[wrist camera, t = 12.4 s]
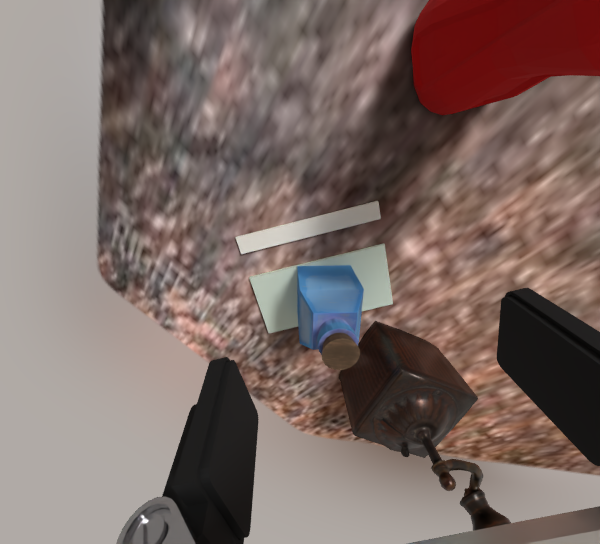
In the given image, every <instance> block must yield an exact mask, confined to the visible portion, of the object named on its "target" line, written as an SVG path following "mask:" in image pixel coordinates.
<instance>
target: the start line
mask: <svg viewBox="0 0 600 544" xmlns="http://www.w3.org/2000/svg"><path fill="white" fill-rule="evenodd" d="M378 219H381V216H380V209H379V202H378V201H374V202H370V203H366V204H362V205H358V206H354V207H350V208H347V209H343V210H339V211H335V212H331V213H327V214H323V215H319V216H315V217H312V218H308V219H304V220H300V221H296V222H292V223H288V224H284V225H281V226H277V227H273V228H269V229H265V230H261V231H257V232H253V233H249V234H246V235H242V236H238V237H236V241H237V243H238V246H239V249H240V252H241V254H245V253H248V252H252V251H256V250H260V249H264V248H268V247H272V246H276V245H280V244H284V243H288V242H292V241H296V240H300V239H304V238H308V237H311V236H315V235H319V234H323V233H327V232H331V231H335V230H339V229H343V228H347V227H351V226H355V225H359V224H363V223H367V222H371V221H374V220H378Z"/></svg>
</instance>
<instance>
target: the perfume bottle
mask: <svg viewBox="0 0 600 544" xmlns="http://www.w3.org/2000/svg"><path fill="white" fill-rule="evenodd" d="M363 293H364V288H363V286H362V285H361V283H360V281H359V279H358V278H357V276H356V274H355V272H354V270H353V269H352V267H351V265H335V266H297V314H298V327H299V340H300V344H302V345H304V346H306V347H308V348H311V349H319V352H320V353H321V355H322V360H323V362H324V364H325V365H327V366H328V367H329V368H332V369H335V370H343V369H347V368H349V367H351V366H353V365H354V364H355V363H356V362H357V360H358V359H359V356H360V349H359V347H358V342H359V333H360V323H361V313H362V303H363Z"/></svg>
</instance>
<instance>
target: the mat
mask: <svg viewBox="0 0 600 544" xmlns="http://www.w3.org/2000/svg"><path fill="white" fill-rule="evenodd" d="M335 265H351V267H352V269H353V270H354V272H355V274H356V276H357V278H358V279H359V281H360V283H361V285H362V286H363V288H364V293H363V303H362V311H365V310H370V309H374V308H378V307H382V306H386V305H391V304H393V301H392V294H391V287H390V280H389V272H388V265H387V258H386V251H385V244H384V243H383V244H379V245H375V246H371V247H367V248H363V249H359V250H355V251H351V252H347V253H343V254H339V255H335V256H331V257H327V258H323V259H319V260H315V261H311V262H307V263H303V264H299V265H295V266H291V267H287V268H283V269H279V270H275V271H271V272H267V273H263V274H259V275H255V276H251V277H250V281H251V284H252V287H253V290H254V293H255V295H256V298H257V301H258V304H259V307H260V310H261V312H262V315H263V318H264V321H265V324H266V327H267V330H268V332H269V333H273V332H277V331H281V330H286V329H290V328H294V327H298V314H297V266H335Z"/></svg>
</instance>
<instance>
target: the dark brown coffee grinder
mask: <svg viewBox="0 0 600 544" xmlns="http://www.w3.org/2000/svg"><path fill="white" fill-rule="evenodd" d="M358 347H359V349H360V356H359V359H358V360H357V362H356V363H355V364H354V365H353V366H351V367H349V368H347V369H343V370H341V372H340V376H339V379H340V381H341V385H342V389H343V394H344V398H345V402H346V407H347V411H348V415H349V419H350V423H351V427H352V432H353V434H354V435H355V436H358V437H361V438H363V439H366V440H369V441H372V442H375V443H378V444H382V445H384V446H386V447H387V448H389V449H390V450H394V451H399V452H401V453H402V455H403V456H405V457H408V456H409V453H410V454H413V455H417V456H420V457H423V458H425V457H426V456H427V455H429V457H430V459H431V461H432V463H433V466H432V471H433V472H434V473H435V474H436V475H437V476H439V481H440V484H441V486H442V487H443V488H444V489H445V490H447V491H451V490H453V489H454V488H455V486H456V482H455V480H454V479H453V477H452V476H451V475H450V474H449V471H451V470H465V471H470V472H471V473H472V474H471V478H470V486H469V488H468V489H465V493H464V497H463V498H462V500H461V501H460V505H461V506H463V507H464V508H465V509H466V510H467V512H468V513H469V514H470V515H471V519H472V524H473V531H474V530H480V529H485V528H490V527H495V526H500V525H505V524H510V523H511V522H510V521H509V519H508V518H506V517H505V516H503V515H501V514H500V513H498V512H496V511H495V510H493V509H492V508H491V507H490V506H489V505H488V503H487V500H486V498H485V494H484V492H483V491H482V490H480V489H479V487H480V484H481V482H482V478H483V474H482V471H481V469H480V468H479V466H478V465H476V464H474V463H470V462H466V461H462V460H456V459H450V460H447V461H443V460H442V459H441V457H440V456H439V454H438V452H437V450H436V448H435V447H436V446H437V445H438V444H439V443H440V442H441V441H442V440H443V438H444V437H445V436H446V435H447V434H448V433H449V432H450V431H451V430H452V429H453V428H454V426H455V425H456V424H457V423H458V422H459V421H460V420H461V419H462V417H463V416H464V415H465V414H466V413H467V411H468V410H469V409H470V408H471V407H472V405H473V404H474V403H475V402H476V401H477V399H478V398H477V396H476V395H475V393H474V392H473V391H472V390H471V388H470V387H469V386H468V385H467V383H466V382H465V381H464V379H463V378H462V377H461V376H460V374H459V373H458V372H457V371H456V370H455V368H454V367H453V366H452V365H451V363H450V362H449V361H448V360H447V359H446V357H445V356H444V355H443V354H442V353H441V352H440V350H439V348H437V347H436V346H434V345H433V344H431V343H430V342H428V341H426V340H423V339H421V338H419V337H417V336H414V335H412V334H409V333H407V332H404V331H402V330H399V329H396V328H393V327H391V326H388V325H385V324H382V323H380V322H377V321H375V322H374V324H373V325H372V326H371V327H370V329H369V330H368V331H367V332H366V334H365V335H364V337H363V338H362V340H361V341H360V343H359V344H358Z"/></svg>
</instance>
